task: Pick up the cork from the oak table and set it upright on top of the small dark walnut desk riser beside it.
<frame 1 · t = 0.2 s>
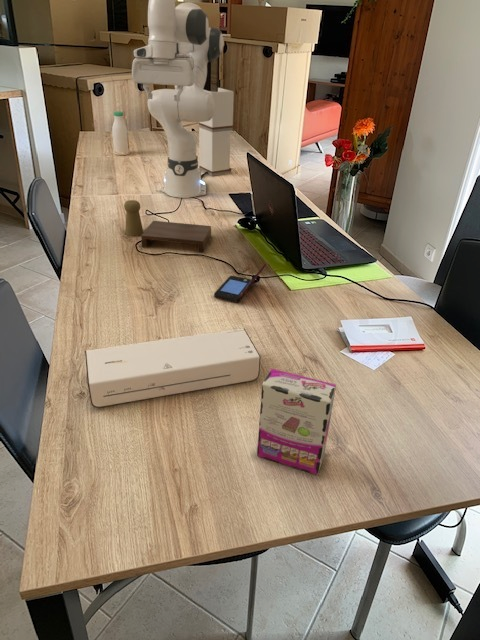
hand: (163, 100, 163), 39 cm above the table, tool pointing down, fingers open, 8 cm apart
laminator: (173, 376, 104), on the table
handheld console: (240, 292, 135), on the table
milk bottle: (122, 154, 251), on the table
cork: (134, 233, 166), on the table
desk riser: (177, 241, 161), on the table
white square pillar: (215, 171, 231), on the table
candy bar box: (290, 456, 86), on the table
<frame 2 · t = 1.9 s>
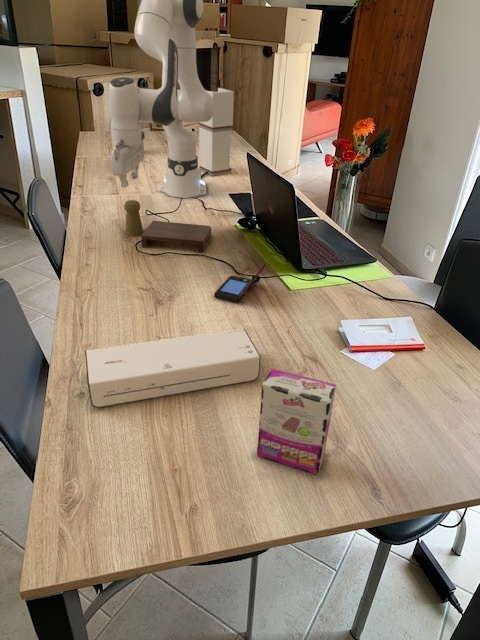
hand: (130, 182, 157), 17 cm above the table, tool pointing down, fingers open, 8 cm apart
nothing on the table moved.
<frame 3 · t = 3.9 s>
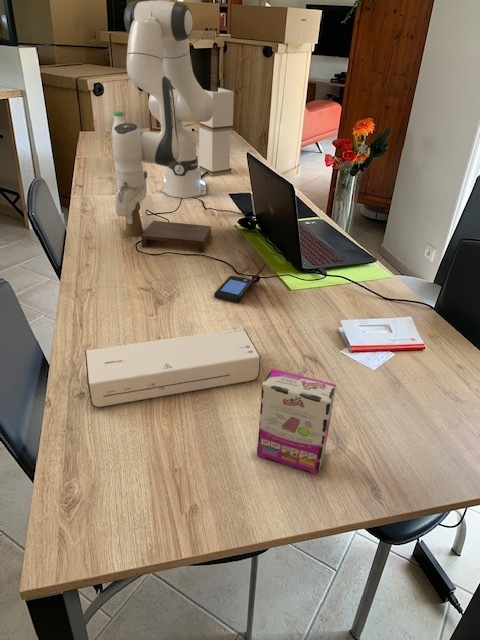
hand: (133, 219, 164), 5 cm above the table, tool pointing down, fingers closed on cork, 4 cm apart
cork: (134, 233, 166), on the table, touching gripper
everything else where it was.
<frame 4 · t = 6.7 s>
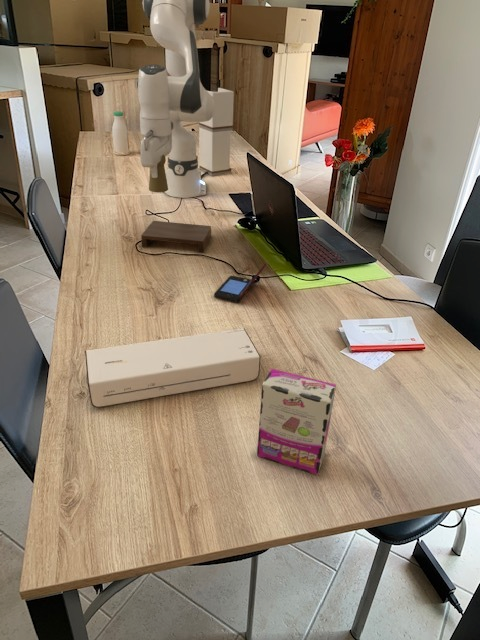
hand: (157, 174, 152), 21 cm above the table, tool pointing down, fingers closed on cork, 4 cm apart
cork: (158, 189, 154), point 16 cm above the table, touching gripper
everything else where it was.
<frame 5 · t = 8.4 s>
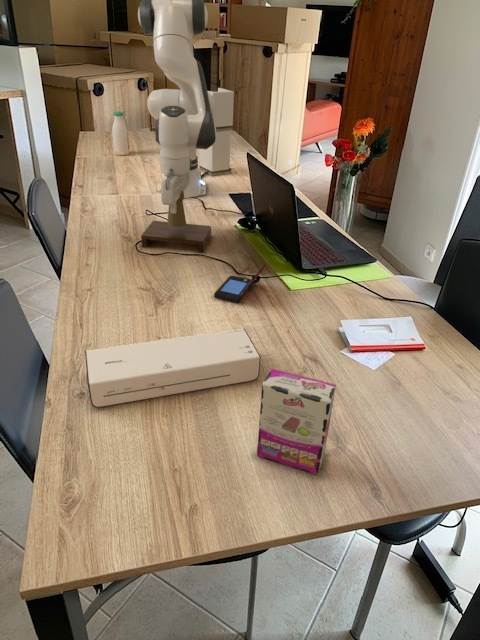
hand: (176, 209, 156), 11 cm above the table, tool pointing down, fingers closed on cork, 4 cm apart
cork: (176, 223, 158), point 6 cm above the table, touching gripper
everything else where it was.
when the fingers open (9 cm above the table, at t = 9.6 s): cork stays where it is, resting on desk riser.
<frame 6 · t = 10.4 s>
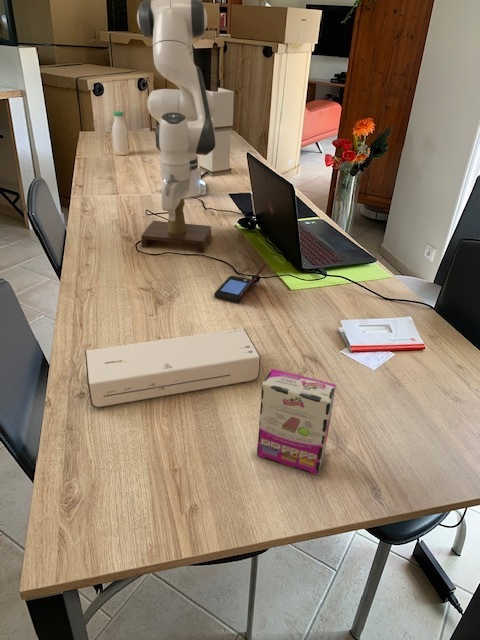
hand: (176, 214, 156), 9 cm above the table, tool pointing down, fingers open, 8 cm apart
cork: (177, 230, 159), point 4 cm above the table, touching desk riser
everything else where it was.
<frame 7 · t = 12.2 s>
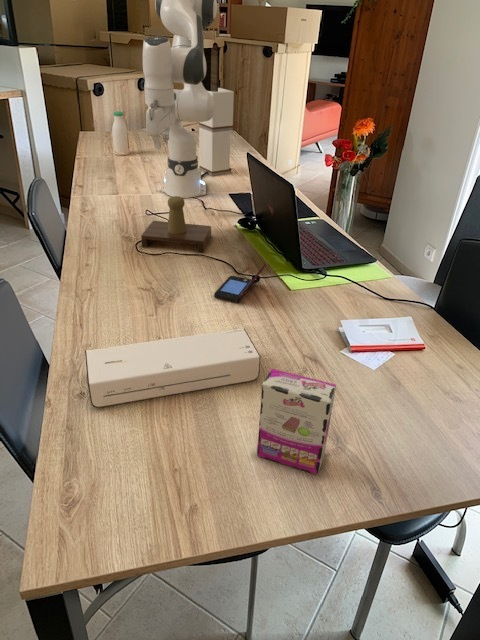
hand: (162, 144, 158), 28 cm above the table, tool pointing down, fingers open, 8 cm apart
nothing on the table moved.
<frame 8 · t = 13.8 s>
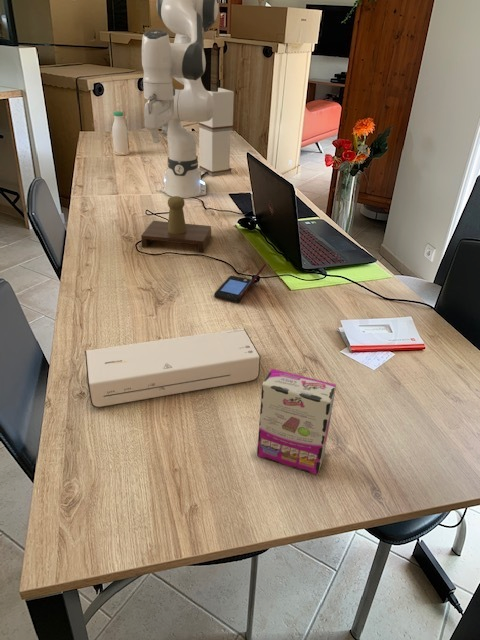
hand: (160, 139, 157), 29 cm above the table, tool pointing down, fingers open, 8 cm apart
nothing on the table moved.
at the end: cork inside the target area on the desk riser (0.1 cm from its centre), point 3.8 cm above the desk riser's base; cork tilted 0°; the gripper is holding nothing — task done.
